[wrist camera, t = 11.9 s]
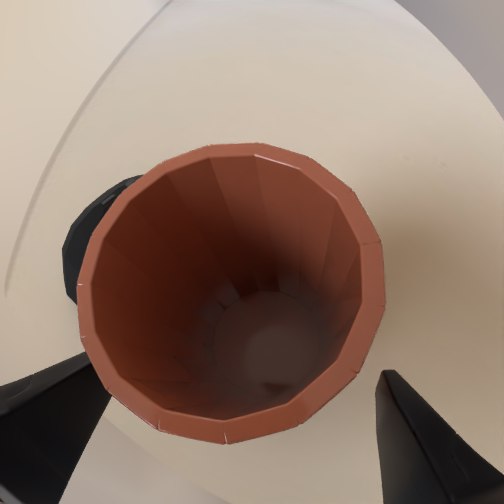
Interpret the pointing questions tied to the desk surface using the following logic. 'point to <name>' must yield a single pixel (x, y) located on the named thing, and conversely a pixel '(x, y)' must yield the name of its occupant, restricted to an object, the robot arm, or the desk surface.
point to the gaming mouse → (86, 234)
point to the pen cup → (231, 292)
